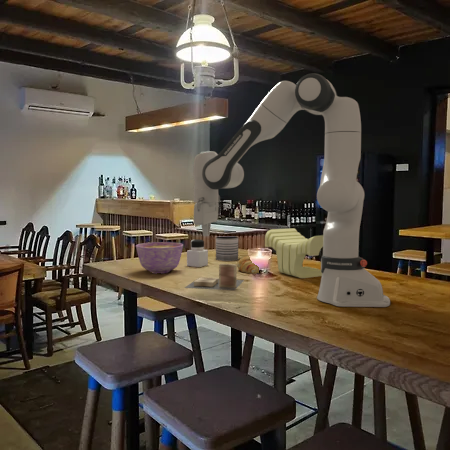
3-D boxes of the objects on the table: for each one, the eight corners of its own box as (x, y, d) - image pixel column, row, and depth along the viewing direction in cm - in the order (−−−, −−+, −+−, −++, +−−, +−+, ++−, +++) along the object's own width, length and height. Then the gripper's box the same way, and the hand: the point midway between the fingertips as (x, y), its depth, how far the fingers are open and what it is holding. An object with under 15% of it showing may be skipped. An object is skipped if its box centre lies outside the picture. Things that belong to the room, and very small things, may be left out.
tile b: (236, 286, 165) (236, 264, 165) (235, 287, 164) (235, 265, 163) (220, 285, 167) (220, 263, 166) (218, 286, 165) (218, 264, 164)
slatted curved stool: (264, 270, 202) (265, 229, 201) (293, 267, 210) (294, 228, 209) (309, 282, 176) (310, 236, 175) (340, 278, 184) (341, 234, 182)
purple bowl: (129, 270, 202) (129, 243, 201) (172, 266, 212) (172, 241, 211) (145, 278, 185) (145, 249, 184) (191, 273, 195) (191, 246, 194)
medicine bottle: (208, 265, 216) (208, 239, 215) (199, 267, 210) (199, 241, 209) (195, 263, 219) (195, 238, 218) (186, 265, 213) (186, 239, 212)
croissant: (262, 283, 192) (271, 266, 192) (242, 273, 189) (251, 255, 189) (247, 273, 212) (255, 257, 212) (229, 263, 210) (237, 248, 210)
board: (244, 282, 177) (244, 280, 177) (234, 292, 160) (234, 290, 160) (198, 279, 181) (198, 277, 181) (184, 289, 164) (184, 287, 164)
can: (212, 260, 230) (212, 236, 229) (219, 257, 241) (219, 233, 240) (234, 261, 227) (234, 236, 226) (241, 258, 238) (241, 234, 237)
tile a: (218, 278, 172) (212, 282, 164) (218, 282, 172) (212, 287, 165) (200, 277, 174) (193, 281, 166) (200, 281, 174) (193, 286, 166)
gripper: (206, 198, 156) (207, 239, 157) (221, 196, 176) (221, 233, 177) (188, 198, 157) (189, 238, 158) (205, 196, 177) (205, 233, 178)
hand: (206, 235), depth 168 cm, fingers closed
